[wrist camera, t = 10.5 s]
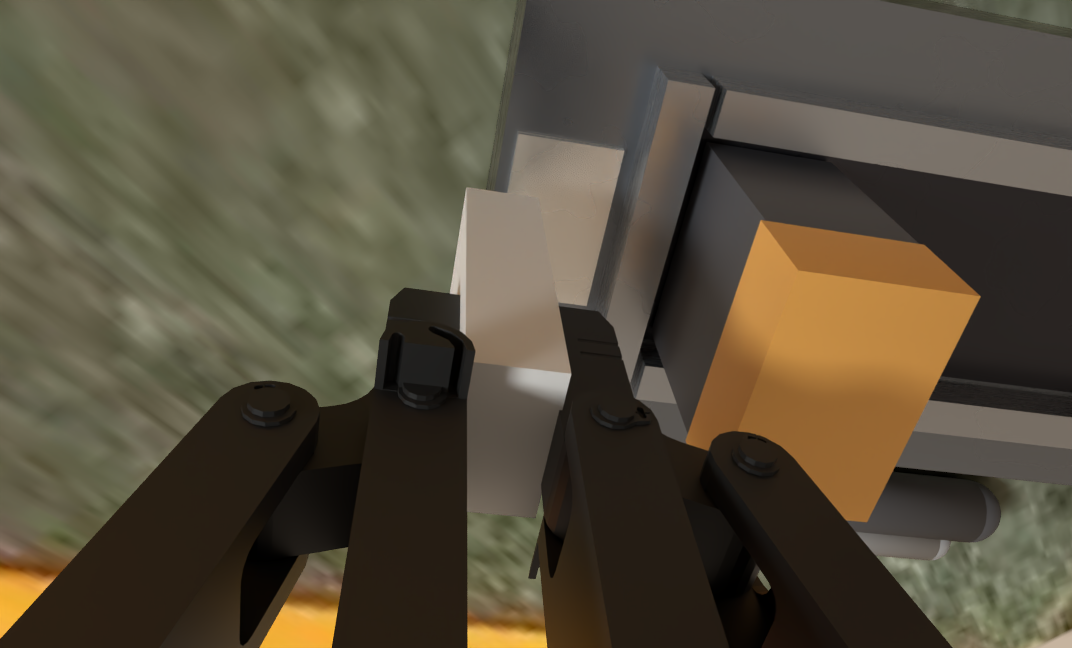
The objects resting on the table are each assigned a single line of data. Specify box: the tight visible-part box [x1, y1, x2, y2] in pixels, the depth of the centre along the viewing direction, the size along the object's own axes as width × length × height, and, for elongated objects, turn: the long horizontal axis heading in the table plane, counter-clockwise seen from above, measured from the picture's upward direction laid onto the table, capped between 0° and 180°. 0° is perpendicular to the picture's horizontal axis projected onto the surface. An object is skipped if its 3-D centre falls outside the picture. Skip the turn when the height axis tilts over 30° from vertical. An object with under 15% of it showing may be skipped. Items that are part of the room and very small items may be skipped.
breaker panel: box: [486, 0, 1072, 485], centre depth 22 cm, size 22×12×4 cm, turn 79°
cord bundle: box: [846, 472, 1001, 560], centre depth 27 cm, size 14×3×2 cm, turn 79°
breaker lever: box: [651, 142, 981, 522], centre depth 18 cm, size 3×5×6 cm, turn 170°
